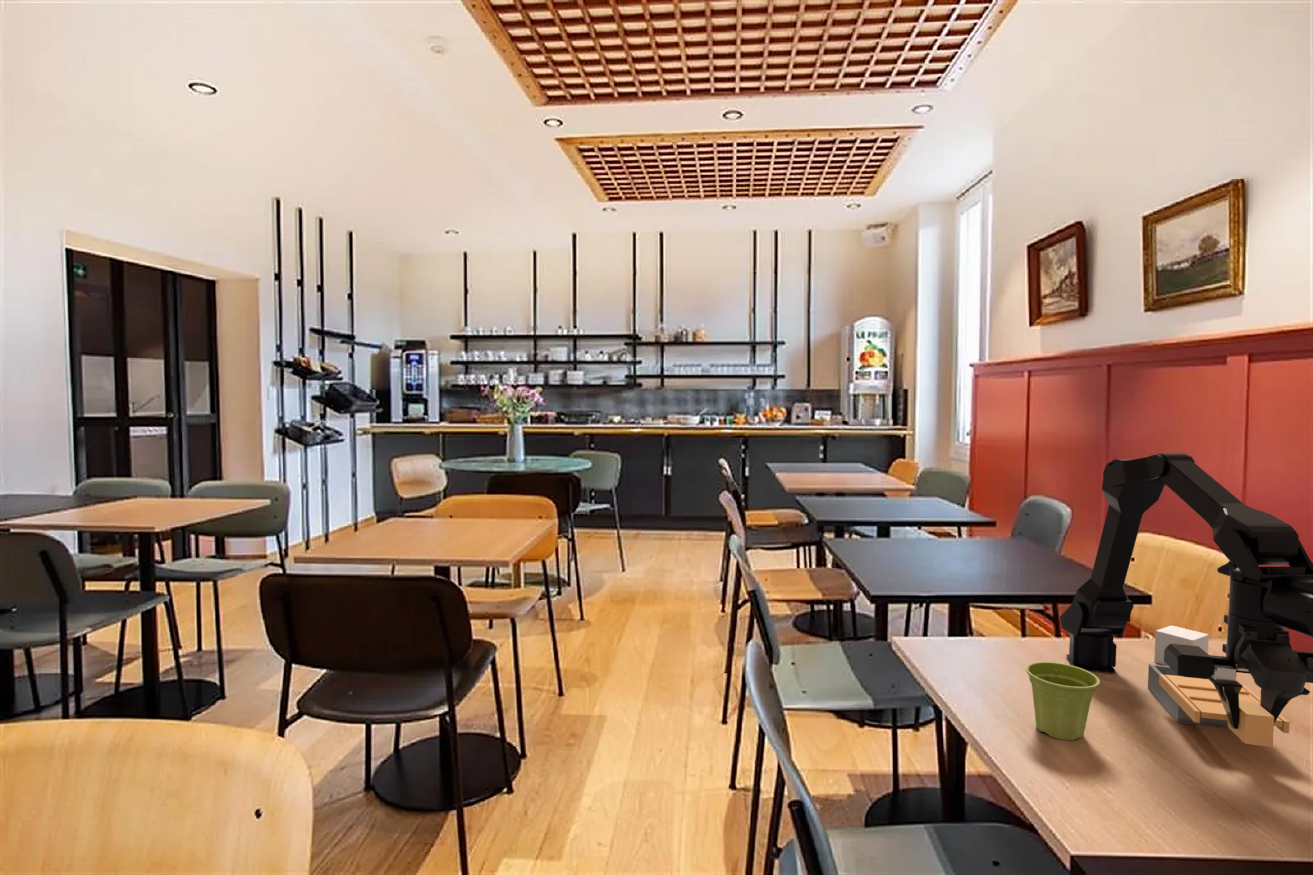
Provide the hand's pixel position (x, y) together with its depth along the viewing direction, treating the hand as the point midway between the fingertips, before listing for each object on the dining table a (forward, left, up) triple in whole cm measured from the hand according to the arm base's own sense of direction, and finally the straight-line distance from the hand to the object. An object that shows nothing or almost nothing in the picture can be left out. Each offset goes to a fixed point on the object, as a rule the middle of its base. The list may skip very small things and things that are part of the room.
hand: (1249, 729), depth 96 cm
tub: (0, +17, -4) cm, 18 cm away
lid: (0, +7, -1) cm, 7 cm away
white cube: (+5, +38, -5) cm, 39 cm away
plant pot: (-22, +2, -5) cm, 23 cm away
